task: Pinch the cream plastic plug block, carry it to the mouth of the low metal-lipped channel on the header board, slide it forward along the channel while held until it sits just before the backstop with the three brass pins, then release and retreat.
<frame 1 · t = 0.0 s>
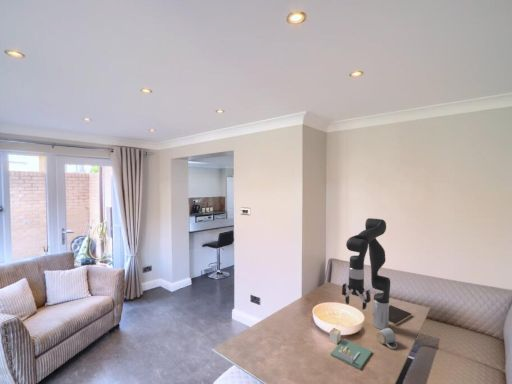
hand: (355, 306, 135), 29 cm above the table, fingers open, 8 cm apart
ceramic mug: (387, 344, 151), on the table
plug block: (335, 340, 153), on the table
header board: (351, 353, 141), on the table
hardcover book: (392, 316, 183), on the table
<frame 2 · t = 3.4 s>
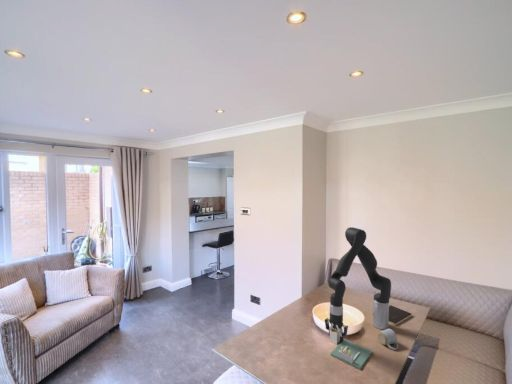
hand: (335, 339, 153), 1 cm above the table, fingers open, 5 cm apart
plug block: (335, 340, 153), on the table, touching gripper
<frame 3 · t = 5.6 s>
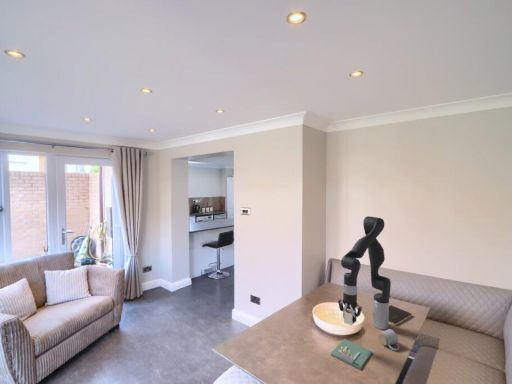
hand: (349, 320, 148), 15 cm above the table, fingers closed on plug block, 4 cm apart
plug block: (349, 322, 148), point 14 cm above the table, touching gripper
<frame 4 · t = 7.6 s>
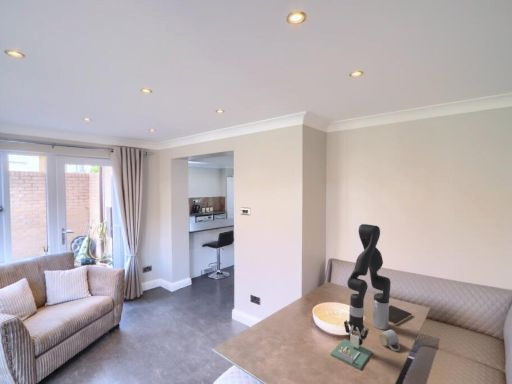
hand: (355, 342, 146), 4 cm above the table, fingers closed on plug block, 4 cm apart
plug block: (355, 344, 146), point 3 cm above the table, touching gripper
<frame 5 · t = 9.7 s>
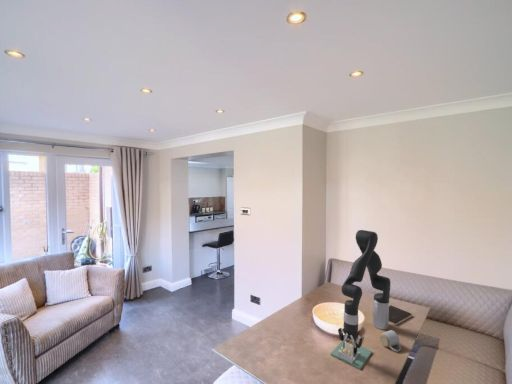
hand: (350, 351, 140), 2 cm above the table, fingers closed on plug block, 4 cm apart
plug block: (350, 352, 140), point 1 cm above the table, touching gripper
when the fingers open (2 cm above the table, at t = 11.5 s): plug block stays where it is, resting on header board.
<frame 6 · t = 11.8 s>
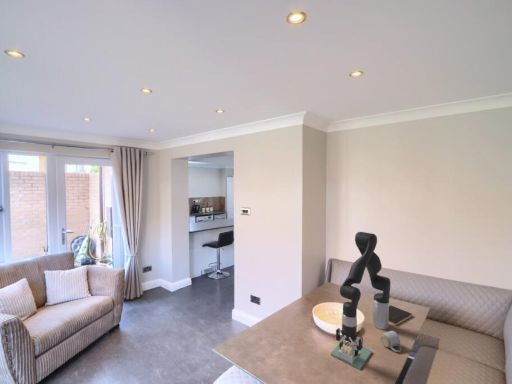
hand: (348, 352, 138), 3 cm above the table, fingers open, 7 cm apart
plug block: (348, 355, 138), point 1 cm above the table, touching header board
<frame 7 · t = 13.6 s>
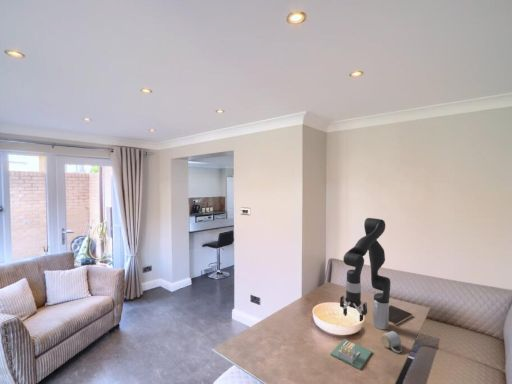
hand: (353, 317, 141), 20 cm above the table, fingers open, 8 cm apart
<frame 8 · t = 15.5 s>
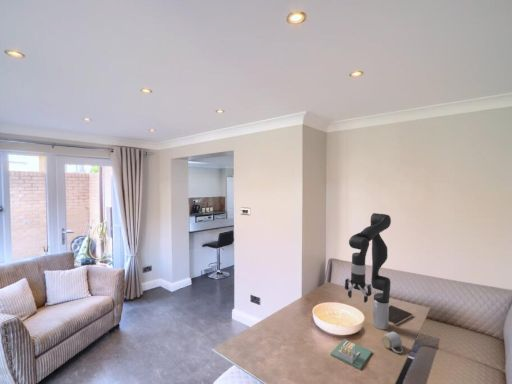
hand: (357, 299, 146), 28 cm above the table, fingers open, 8 cm apart
at the end: plug block 0.4 cm from the target spot on the header board, point 1.0 cm above the header board's base; plug block tilted 0°; the gripper is holding nothing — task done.
